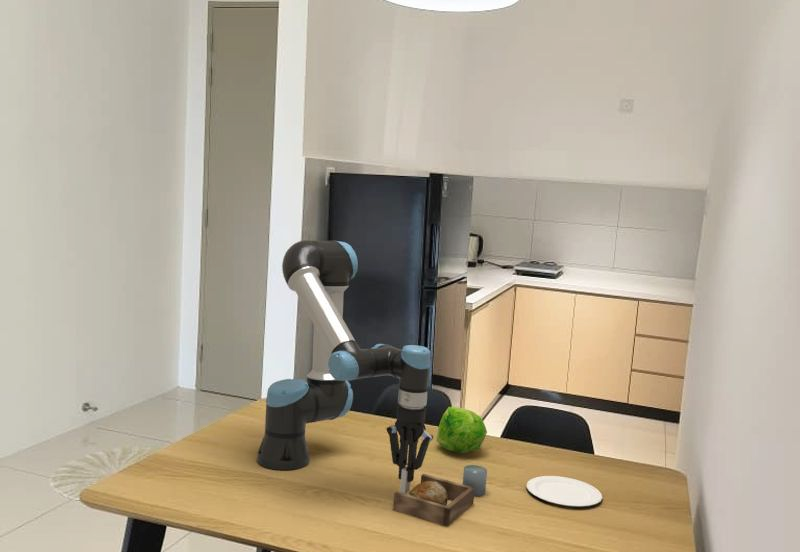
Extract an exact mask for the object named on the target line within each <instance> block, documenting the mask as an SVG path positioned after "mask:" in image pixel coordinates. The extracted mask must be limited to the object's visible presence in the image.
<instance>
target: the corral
mask: <svg viewBox="0 0 800 552" xmlns="http://www.w3.org/2000/svg"><path fill="white" fill-rule="evenodd" d="M425 481H432V482H437V483H438V484H440V485H442V486H443V487H444V488H445V490H446V492H447V496H448V501H449V500H450V502H449V503H447V505H446V506H445V505H441V504H438V503H435V502H431V501H428V500H424V499H421V498H417V497H414V496H411V495H410V494H408V493H406V494H404V493H400V491H395V492H393V501H392V502H393V504H392V510H393V511H395V512H398V513H401V514H404V515H407V516H412V517H416V518H418V519H421V520H425V521H428V522H431V523H434V524H437V525H441V526H444V527H449V526H450V525H451V524H452V523H453V522H454V521H456V520H457V519H458V518H460V516H461V515H463V513H465V512H466V511H467V510H469V509H470V508H471V507H472V506H473V505H474V501H475V500H474V499H475V497H474V490H475V488H473V487H470V486H466V485H462V484H463V483H462V484H461V483H459V482H455V481H451V480H448V479H443V478H439V477H436V476H433V475H428V474H426V473H422V474H421V475H420V483H422V482H425Z"/></svg>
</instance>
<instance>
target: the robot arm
mask: <svg viewBox="0 0 800 552" xmlns="http://www.w3.org/2000/svg"><path fill="white" fill-rule="evenodd" d="M358 262H359V261H358V257H357V254H356V252H355V250H354V249H353V247H352V245H350V244H349V243H347V242H344V241H338V240H311V239H310V240H309V239H305V240H300V241H297V242H295V243H293V244H292V245H291V246H290V247H289V248H288V249H287V250H286V252H285V254H284V256H283V259H282V264H281V265H282V266H281V268H282V269H281V270H282V274H283V279H284V280H285V283H286V285H287V287H288V288H289V290H291V291H293V292H295V294H296V295H297V297H298V299H299V300H300V302H301V304H302V306H303V307H304V309H305V311H306V313H307V315H308V316H309V318H310V321H311V322H312V324H313V336H312V337H313V340H312V341H313V343H312V345H313V346H312V369H311V370H310V371H309V373H307V375H306V380H305V379H300V378H292V379H291V378H285V379H281V380H278V381H274V382H273V383H272V384H270V385H269V387H268V389H267V392H266V399H265V404H266V406H265V421H264V423H265V424H264V435H263V438H262V441H261V443H260V445H259V447H258V448H259V449H258V451H257V454H256V455H257V456H256V462H257V463H258V465H259V466H261V467H264V468H267V469H270V470H276V471H292V470H297V469H302V468H304V467H306V466H307V465H309V463H310V451H309V447H308V443H307V439H306V424H312V423H318V422H323V421H332V420H336V419H340V418H342V417H344V416H346V414H348V413H349V411H350V409H351V407H352V405H353V401H354V393H353V389H352V385H351V383H350V382H351V381H354V380H361V379H366V378H375V377H376V378H377V377H382V376H390V377H393V378H396V379H398V380H399V384H398V396H397V397H398V398H397V404H398V405H397V407H396V409H397V410H396V421H395V423H394V424H392V425H389V426H387V427H386V432H387V434H388V437H389V438H388V439H389V444H390V445H389V446H390V452H391V453H390V454H391V460H392V464H393V465H396V466H397V467H398V480H400V487H399V488H400V489H399V492H400V493H404V494H409V492H410V491H411V482H413V481H414V477H415V471H417V470H419V469H420V468H422V465H423V462H424V460H425V456H426V453H427V450H428V447H429V445H430V443H431V442H432V441H433V439H434V435H433V434H430V433H428V432H427V431H426V430H427V429H426V424H425V423H426V413H427V407H426V406H427V402H428V388H429V377H430V368H431V351H430V348H428V347H425V346H423V345H415V344H410V345H404V346H403V347H402V348H401V349H400V348H397V347H394V346H392V345H390V344H384V343H377V344H375V345H374V346H373V347H371V348H360V345H358V342H357V341H356V339H355V338H354V336H353V334H352V332H351V331H350V329H349V327H348V325H347V323H346V322H345V320H344V319H343V318H344V317H343V316H344V315H343V313H344V294H345V293H344V292H345V291H346V290H347V289H348V288H349V286H350V280H352V279H353V278H355V276H356V274H357V272H358V267H359V266H358V265H359V264H358ZM349 381H350V382H349ZM398 434H399V435H398ZM419 439H421V443H420V446H419V449H418V444H419ZM417 450H418V451H417Z"/></svg>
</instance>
